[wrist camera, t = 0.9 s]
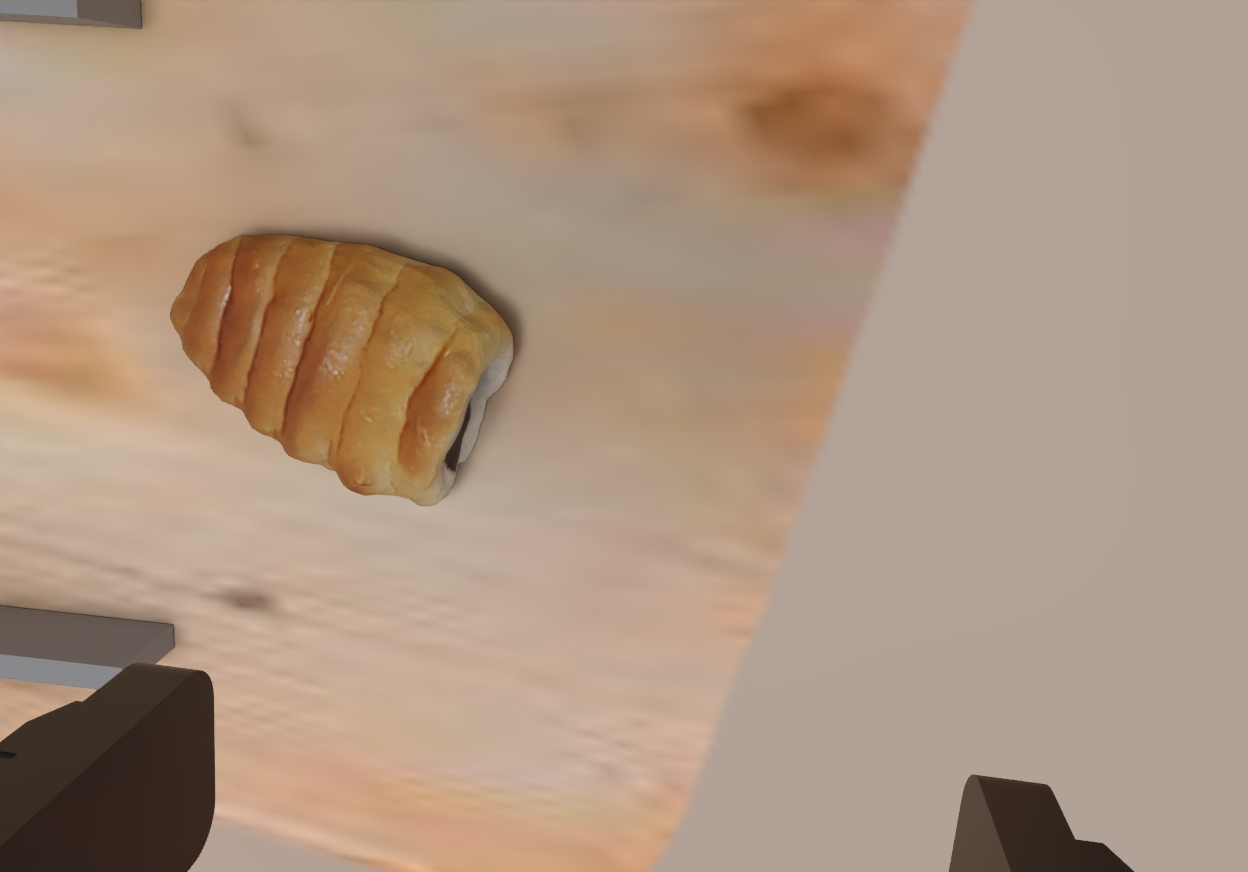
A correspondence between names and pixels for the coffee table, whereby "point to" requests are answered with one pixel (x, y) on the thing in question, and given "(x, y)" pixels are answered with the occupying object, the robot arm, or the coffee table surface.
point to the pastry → (347, 356)
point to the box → (58, 639)
